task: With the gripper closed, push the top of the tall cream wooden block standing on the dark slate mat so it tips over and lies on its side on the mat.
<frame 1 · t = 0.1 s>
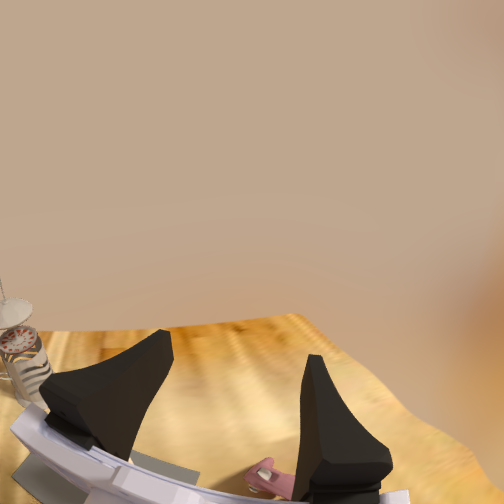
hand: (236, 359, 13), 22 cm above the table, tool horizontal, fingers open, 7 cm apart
slate mat: (98, 485, 17), on the table
video game controller: (287, 495, 21), on the table
french press: (35, 392, 27), on the table
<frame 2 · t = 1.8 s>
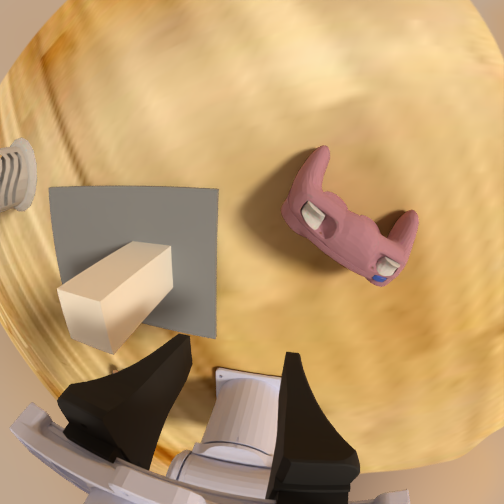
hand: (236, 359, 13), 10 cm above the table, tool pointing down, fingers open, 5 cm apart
slate mat: (120, 257, 25), on the table
video game controller: (350, 208, 20), on the table
french press: (19, 181, 25), on the table
cream block: (152, 264, 24), resting on slate mat
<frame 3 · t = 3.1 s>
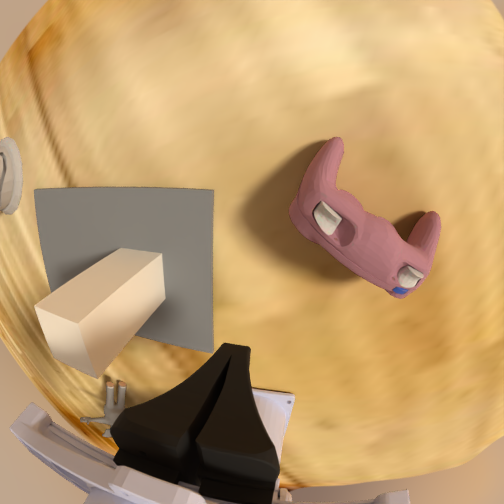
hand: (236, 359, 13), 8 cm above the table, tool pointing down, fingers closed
grey toy figure: (121, 395, 30), on the table
slate mat: (108, 264, 22), on the table
video game controller: (365, 209, 18), on the table
french press: (6, 183, 22), on the table
cream block: (142, 273, 21), resting on slate mat
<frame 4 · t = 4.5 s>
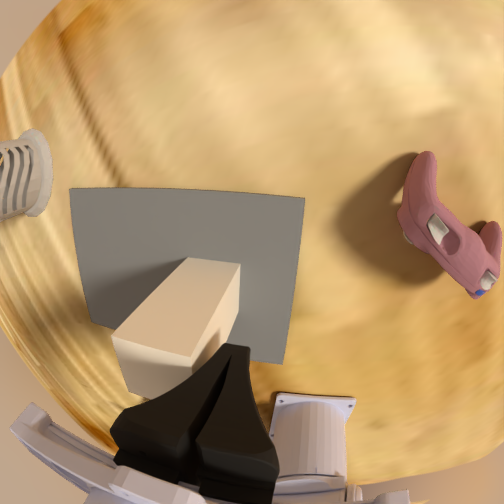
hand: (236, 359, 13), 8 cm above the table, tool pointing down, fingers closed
slate mat: (167, 275, 22), on the table
video game controller: (441, 218, 17), on the table
french press: (29, 181, 21), on the table
cream block: (213, 284, 21), resting on slate mat, touching gripper
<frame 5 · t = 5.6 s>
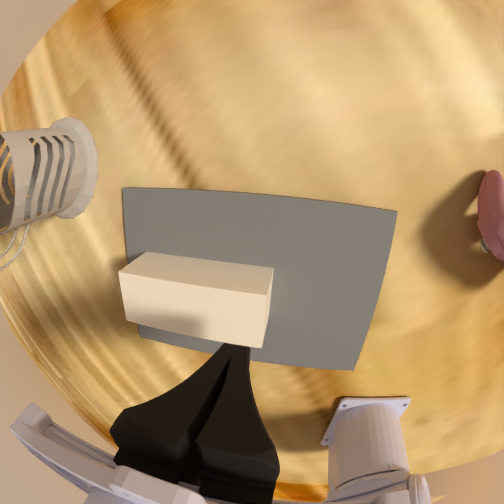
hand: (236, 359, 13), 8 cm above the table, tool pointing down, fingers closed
slate mat: (245, 286, 21), on the table
video game controller: (498, 228, 16), on the table
french press: (63, 177, 21), on the table
cream block: (268, 306, 18), point 2 cm above the table, tilted 90°, touching slate mat
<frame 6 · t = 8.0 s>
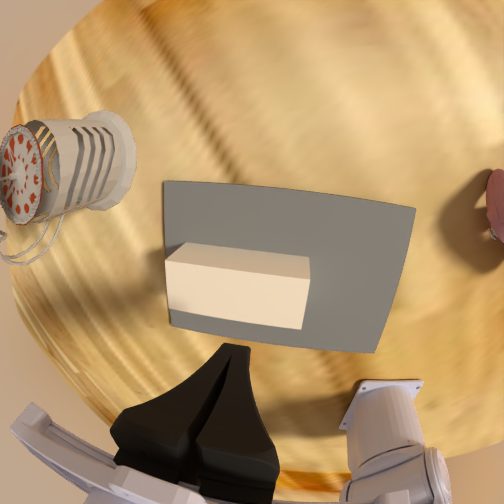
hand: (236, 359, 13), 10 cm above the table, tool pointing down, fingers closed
slate mat: (281, 275, 22), on the table
video game controller: (502, 220, 17), on the table
french press: (96, 169, 22), on the table
cream block: (305, 292, 20), point 2 cm above the table, tilted 90°, touching slate mat
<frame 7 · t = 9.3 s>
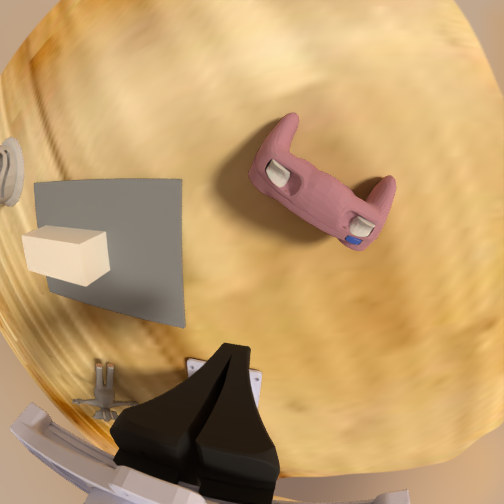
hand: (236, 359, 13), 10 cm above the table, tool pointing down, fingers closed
grey toy figure: (111, 379, 32), on the table
slate mat: (96, 247, 25), on the table
video game controller: (324, 176, 20), on the table
french press: (8, 178, 25), on the table
cream block: (95, 258, 22), point 2 cm above the table, tilted 90°, touching slate mat
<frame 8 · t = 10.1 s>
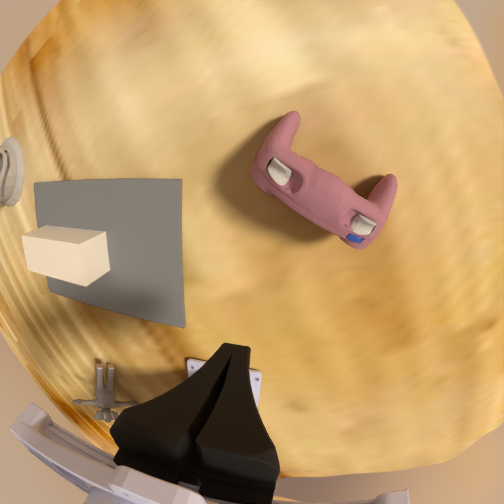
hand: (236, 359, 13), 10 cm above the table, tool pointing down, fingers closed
grey toy figure: (112, 379, 32), on the table
slate mat: (96, 247, 25), on the table
video game controller: (325, 174, 20), on the table
french press: (8, 178, 25), on the table
cream block: (95, 258, 22), point 2 cm above the table, tilted 90°, touching slate mat
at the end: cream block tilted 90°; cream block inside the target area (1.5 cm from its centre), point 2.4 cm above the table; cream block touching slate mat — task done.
